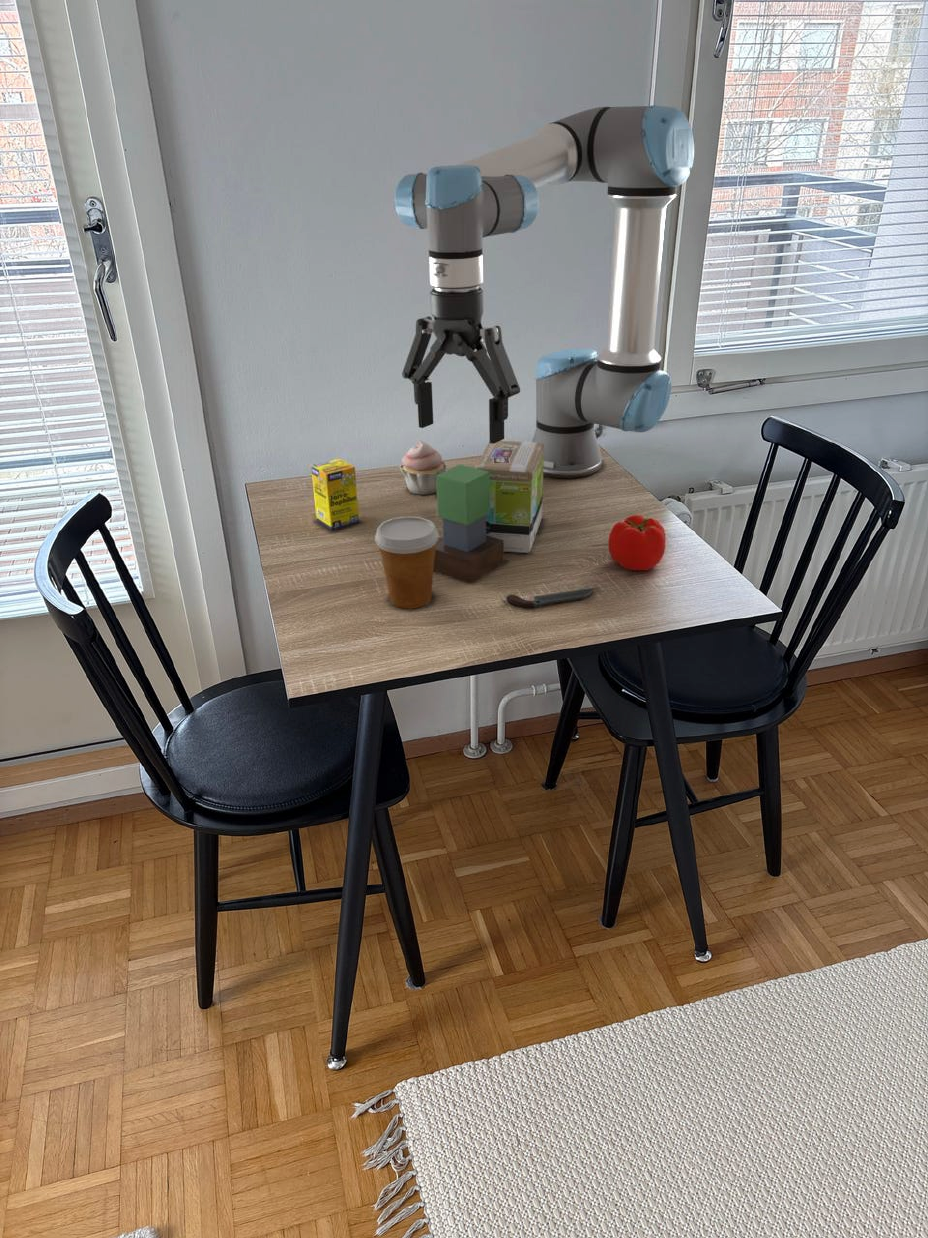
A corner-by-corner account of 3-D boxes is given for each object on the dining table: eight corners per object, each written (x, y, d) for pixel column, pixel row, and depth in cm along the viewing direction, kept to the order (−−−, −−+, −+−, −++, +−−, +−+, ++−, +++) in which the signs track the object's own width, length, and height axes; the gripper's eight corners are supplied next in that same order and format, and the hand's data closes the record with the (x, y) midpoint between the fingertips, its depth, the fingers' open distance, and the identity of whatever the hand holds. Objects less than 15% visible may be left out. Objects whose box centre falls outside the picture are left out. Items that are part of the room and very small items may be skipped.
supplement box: (332, 531, 166) (325, 474, 161) (316, 521, 171) (309, 464, 165) (360, 523, 169) (355, 466, 164) (344, 513, 174) (338, 457, 168)
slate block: (462, 534, 154) (461, 506, 152) (486, 541, 151) (485, 513, 149) (443, 545, 151) (442, 516, 148) (468, 552, 148) (467, 523, 146)
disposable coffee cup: (454, 598, 143) (451, 526, 137) (408, 620, 138) (402, 547, 132) (413, 578, 149) (409, 509, 143) (367, 599, 144) (360, 528, 138)
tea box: (531, 554, 156) (532, 471, 148) (473, 550, 158) (470, 468, 150) (543, 518, 169) (544, 440, 161) (488, 515, 170) (487, 437, 163)
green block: (460, 504, 152) (459, 464, 149) (490, 512, 149) (489, 471, 146) (437, 517, 148) (435, 475, 145) (467, 525, 145) (466, 483, 141)
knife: (513, 610, 139) (513, 606, 139) (505, 598, 142) (505, 594, 142) (601, 597, 142) (601, 593, 141) (591, 585, 145) (592, 582, 145)
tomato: (626, 581, 147) (629, 537, 143) (598, 558, 154) (600, 516, 150) (677, 569, 149) (681, 526, 146) (647, 548, 157) (650, 506, 153)
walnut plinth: (460, 548, 159) (459, 527, 157) (503, 562, 154) (503, 540, 152) (427, 568, 152) (426, 546, 150) (471, 583, 148) (470, 560, 146)
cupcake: (402, 480, 187) (399, 432, 182) (449, 480, 186) (447, 431, 181) (398, 498, 179) (394, 449, 174) (446, 498, 178) (444, 448, 173)
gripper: (373, 283, 135) (383, 425, 146) (514, 300, 122) (514, 455, 132) (406, 275, 141) (413, 413, 151) (545, 290, 127) (542, 440, 138)
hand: (460, 433), depth 142 cm, fingers open, 13 cm apart
